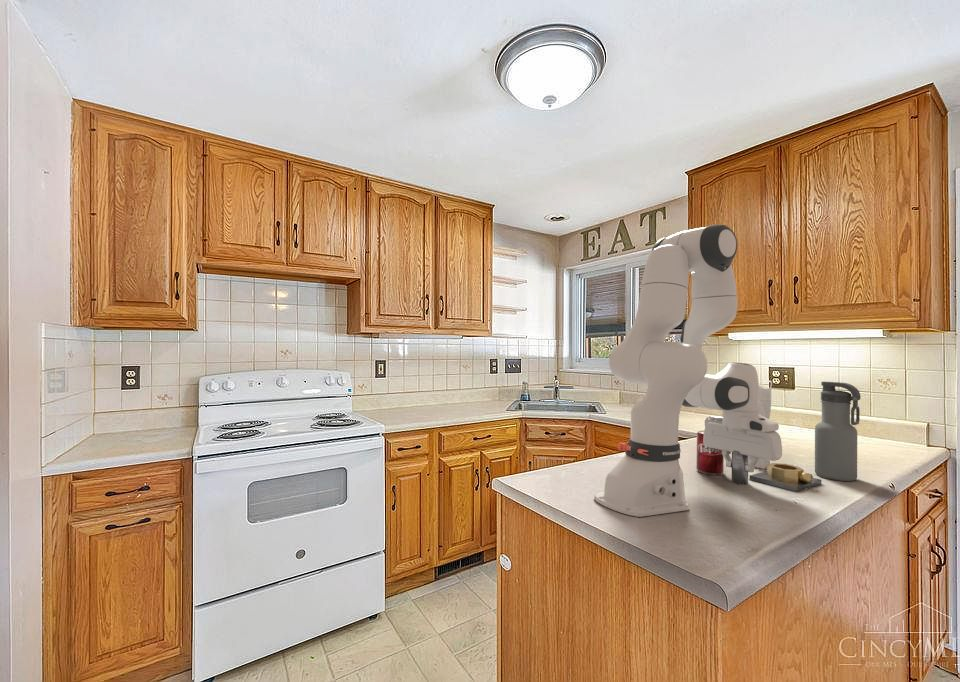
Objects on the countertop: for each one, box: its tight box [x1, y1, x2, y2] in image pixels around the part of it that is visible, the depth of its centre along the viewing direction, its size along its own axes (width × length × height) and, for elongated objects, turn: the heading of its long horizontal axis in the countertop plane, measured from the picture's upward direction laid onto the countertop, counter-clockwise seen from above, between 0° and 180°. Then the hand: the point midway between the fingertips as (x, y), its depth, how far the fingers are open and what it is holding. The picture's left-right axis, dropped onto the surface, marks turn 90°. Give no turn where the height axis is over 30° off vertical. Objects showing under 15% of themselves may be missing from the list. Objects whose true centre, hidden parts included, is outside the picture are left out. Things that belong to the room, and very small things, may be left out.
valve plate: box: [748, 462, 822, 493], centre depth 123 cm, size 14×12×4 cm
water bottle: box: [814, 381, 861, 482], centre depth 129 cm, size 10×10×28 cm
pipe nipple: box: [731, 450, 749, 485], centre depth 123 cm, size 4×4×9 cm
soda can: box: [696, 430, 725, 476], centre depth 132 cm, size 7×7×12 cm
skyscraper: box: [748, 379, 773, 470], centre depth 140 cm, size 8×8×28 cm
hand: (739, 469), depth 123 cm, fingers closed on pipe nipple, 4 cm apart
